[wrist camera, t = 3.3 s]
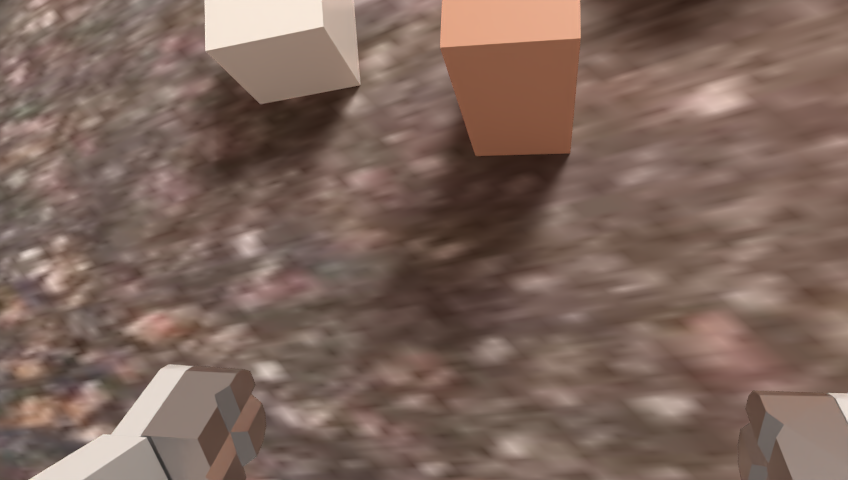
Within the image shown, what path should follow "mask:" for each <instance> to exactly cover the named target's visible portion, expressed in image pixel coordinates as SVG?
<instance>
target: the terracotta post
mask: <svg viewBox="0 0 848 480" xmlns="http://www.w3.org/2000/svg"><path fill="white" fill-rule="evenodd" d="M580 39H581V32H580V0H442V16H441V40H440V48H441V51H442V55H443V58H444V61H445V64H446V67H447V70H448V73H449V76H450V79H451V82H452V85H453V88H454V91H455V95H456V98H457V101H458V104H459V107H460V110H461V113H462V116H463V119H464V122H465V125H466V128H467V131H468V135H469V138H470V141H471V144H472V147H473V150H474V153H475V156H495V155H529V154H563V153H570V149H571V138H572V127H573V116H574V105H575V94H576V83H577V72H578V61H579V50H580Z"/></svg>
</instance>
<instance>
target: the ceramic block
mask: <svg viewBox="0 0 848 480" xmlns="http://www.w3.org/2000/svg"><path fill="white" fill-rule="evenodd" d="M205 51H206V52H207V53H208V54H209V55H210V56H211V57H212V58H213V59H214V60H215V61H216V62H217V63H218V64H219V65H220V66H221V67H222V68H223V69H224V70H225V71H226V72H228V73H229V74H230V75H231V76H232V77H233V78H234V79H235V80H236V81H237V82H238V83H239V84H240V85H241V86H242V87H243V88H244V89H245V90H246V91H247V92H248V93H249V94H250V95H251V96H252V97H253V98H254V99H255V100H256V101H257V102H258V103H260V104H265V103H270V102H275V101H280V100H286V99H291V98H296V97H301V96H307V95H312V94H317V93H322V92H328V91H333V90H338V89H344V88H349V87H354V86H359V85H360V74H359V61H358V48H357V35H356V23H355V10H354V0H205Z"/></svg>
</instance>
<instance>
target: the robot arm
mask: <svg viewBox="0 0 848 480" xmlns="http://www.w3.org/2000/svg"><path fill="white" fill-rule="evenodd" d="M255 385H256V384H255V382H254V379H253V377H252V374H251V372H250V371H248V370H245V369H235V368H220V367H206V366H184V365H170V364H169V365H167V366H165V367H163V368H162V369H160V370H159V372H158V373H157V374H156V376H155V377H154V378H153V380H152V381H151V382H150V384H149V385H148V386H147V388H146V389H145V390H144V392H143V393H142V394H141V396H140V397H139V398H138V400H137V401H136V402H135V404H134V405H133V406H132V407H131V409H130V410H129V411H128V413H127V414H126V415H125V417H124V418H123V419H122V421H121V422H120V423H119V425H118V426H117V427H116V429H115V430H114V431H113V433H112V434H111V435H108V434H103V435H101V436H100V437H98V438H96V439H95V440H93V441H91V442H90V443H88V444H87V445H85V446H83V447H82V448H80V449H78V450H77V451H75V452H73V453H72V454H70V455H69V456H67V457H65V458H64V459H62V460H60V461H59V462H57V463H55V464H54V465H52V466H51V467H49V468H47V469H46V470H44V471H42V472H41V473H39V474H37V475H36V476H34V477H33V478H31V479H29V480H246V475H245V471H244V466H245V465H246V464H247V463H249V462H250V461H251V460H253V459H254V458H255V457H257V455H258V453H259V450H260V448H261V446H262V444H263V441H264V435H265V430H266V415H265V411H264V408H263V405H262V403H261V402H260V401H259V400H258V399H257V398H256V397H254V396H253V395H252V394H251V393H252V391H253V389H254V387H255ZM745 409H746V412H747V415H748V418H749V421H750V423H748V424H747V425H746V426H744V427H743V428H742V429H740V435H739V440H738V466H739V472H740V477H741V480H848V394H845V393H827V394H825V393H813V392H784V391H754V390H753V391H752V392H751V394H750V395H749V396H748V400H747V404H746V408H745Z"/></svg>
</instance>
